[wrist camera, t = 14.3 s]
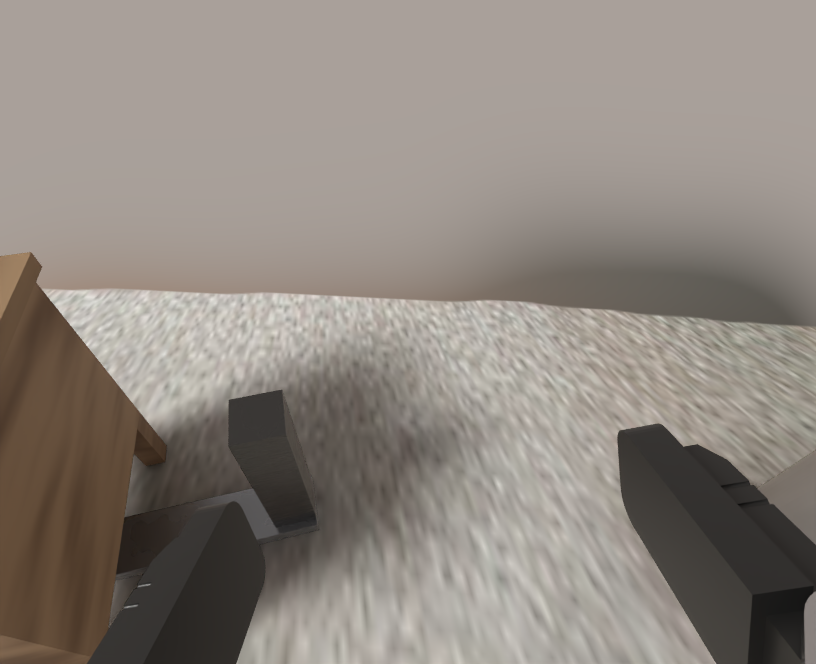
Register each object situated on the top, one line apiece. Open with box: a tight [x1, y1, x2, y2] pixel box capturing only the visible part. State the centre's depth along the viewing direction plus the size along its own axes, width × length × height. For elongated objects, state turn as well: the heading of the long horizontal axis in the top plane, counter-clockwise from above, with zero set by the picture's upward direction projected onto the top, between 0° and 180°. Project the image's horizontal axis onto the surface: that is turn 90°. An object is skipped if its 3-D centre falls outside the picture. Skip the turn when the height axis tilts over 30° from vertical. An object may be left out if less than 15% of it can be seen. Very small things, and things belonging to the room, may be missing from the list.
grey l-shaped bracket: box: [115, 390, 319, 581], centre depth 29 cm, size 21×4×14 cm, turn 104°
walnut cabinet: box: [0, 252, 167, 664], centre depth 25 cm, size 9×18×20 cm, turn 15°
